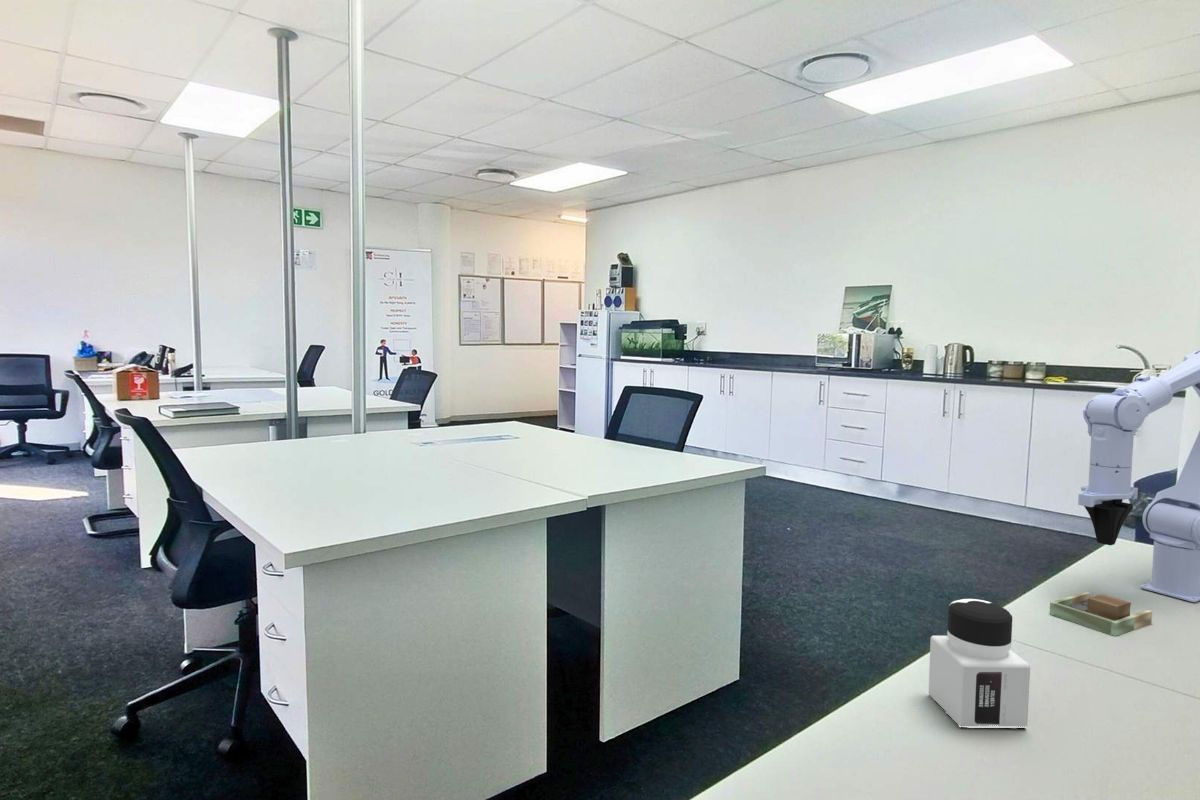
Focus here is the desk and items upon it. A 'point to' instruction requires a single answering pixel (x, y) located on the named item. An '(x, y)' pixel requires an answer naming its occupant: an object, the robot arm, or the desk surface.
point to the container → (979, 667)
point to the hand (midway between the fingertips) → (1105, 543)
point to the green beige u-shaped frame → (1096, 622)
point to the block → (1108, 607)
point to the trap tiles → (1081, 606)
